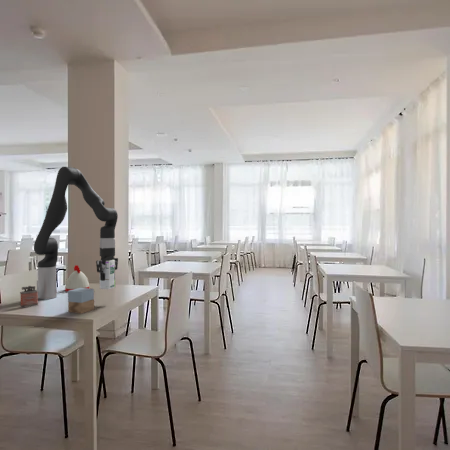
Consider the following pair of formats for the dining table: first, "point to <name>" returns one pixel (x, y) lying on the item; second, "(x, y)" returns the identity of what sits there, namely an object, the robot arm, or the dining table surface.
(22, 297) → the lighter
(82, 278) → the kitchen timer
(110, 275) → the syrup box
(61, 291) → the dining table surface
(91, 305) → the tower bottom block
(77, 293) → the tower top block
